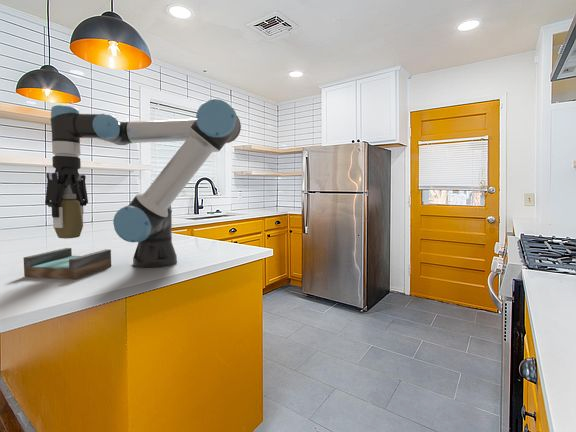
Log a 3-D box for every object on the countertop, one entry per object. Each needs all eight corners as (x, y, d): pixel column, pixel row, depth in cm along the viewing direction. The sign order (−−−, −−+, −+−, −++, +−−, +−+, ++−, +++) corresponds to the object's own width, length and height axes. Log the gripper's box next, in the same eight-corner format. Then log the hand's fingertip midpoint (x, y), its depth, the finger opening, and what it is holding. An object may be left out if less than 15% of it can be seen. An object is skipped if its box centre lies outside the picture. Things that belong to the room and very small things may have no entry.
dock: (111, 266, 116) (110, 249, 116) (75, 279, 99) (74, 259, 99) (66, 264, 118) (66, 247, 117) (24, 276, 101) (23, 257, 100)
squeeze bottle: (69, 239, 103) (67, 182, 101) (47, 238, 104) (45, 182, 103) (89, 236, 111) (87, 183, 109) (69, 235, 112) (67, 182, 111)
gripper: (79, 159, 116) (81, 222, 118) (27, 152, 95) (30, 229, 97) (99, 159, 115) (100, 223, 117) (50, 152, 95) (53, 230, 97)
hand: (68, 226), depth 107 cm, fingers closed on squeeze bottle, 8 cm apart
